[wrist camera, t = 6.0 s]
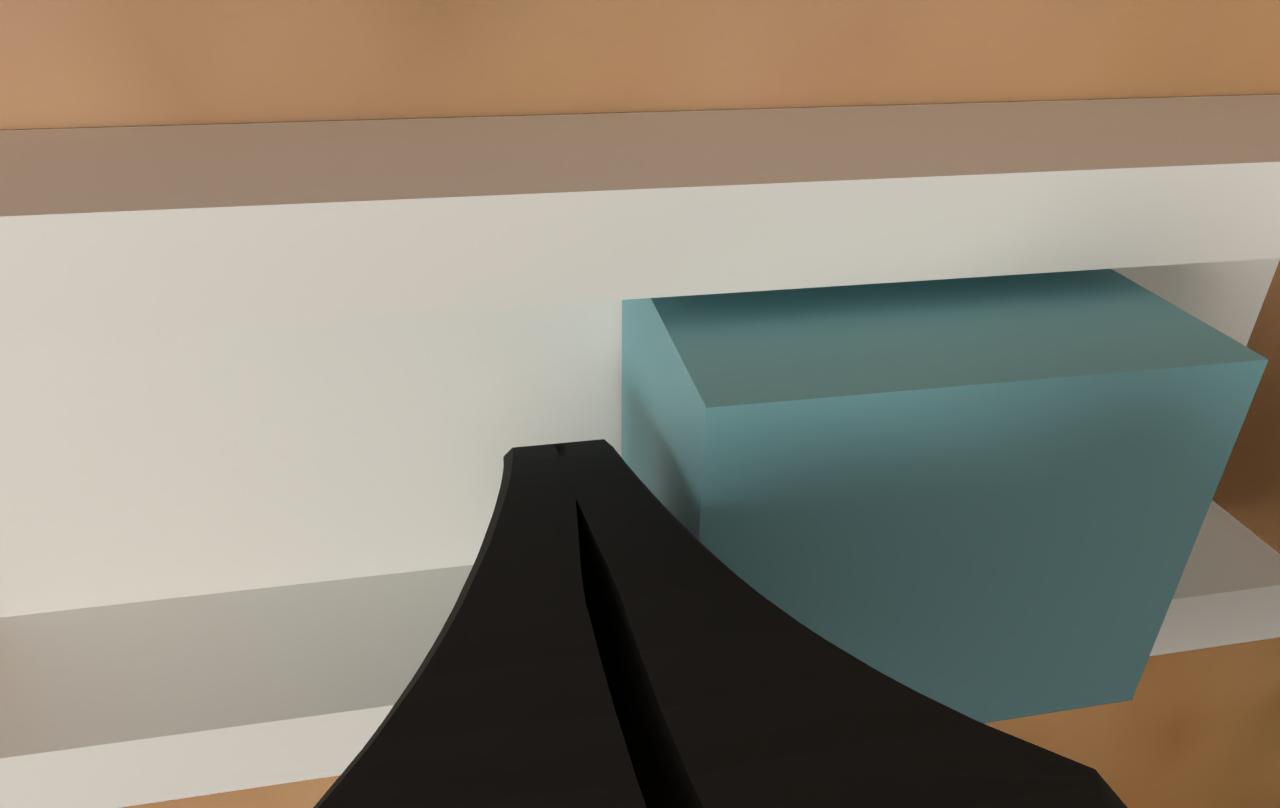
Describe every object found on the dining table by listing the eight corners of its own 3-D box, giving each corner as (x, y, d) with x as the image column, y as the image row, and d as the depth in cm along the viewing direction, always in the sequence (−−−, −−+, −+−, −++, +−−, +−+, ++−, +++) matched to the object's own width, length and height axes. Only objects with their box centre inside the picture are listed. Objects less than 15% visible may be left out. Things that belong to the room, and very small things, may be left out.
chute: (44, 639, 15) (-57, 833, 12) (-170, 135, 11) (-405, 234, 8) (1145, 511, 18) (1285, 636, 15) (1296, 93, 14) (1526, 150, 11)
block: (621, 537, 15) (685, 769, 11) (622, 242, 12) (707, 408, 8) (962, 499, 16) (1131, 700, 12) (1028, 220, 13) (1269, 359, 9)
